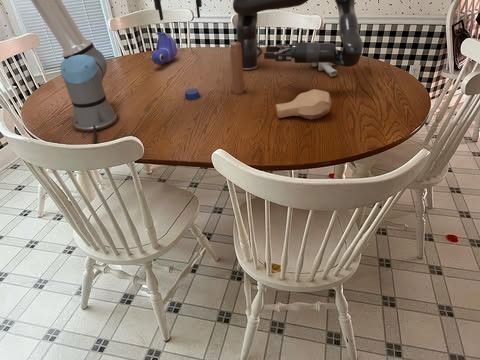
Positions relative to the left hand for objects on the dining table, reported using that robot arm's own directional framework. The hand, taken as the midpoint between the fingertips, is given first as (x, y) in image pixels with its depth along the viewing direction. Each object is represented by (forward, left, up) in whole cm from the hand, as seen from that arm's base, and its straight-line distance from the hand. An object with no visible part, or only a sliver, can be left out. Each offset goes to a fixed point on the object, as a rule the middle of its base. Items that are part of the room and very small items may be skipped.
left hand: (180, 18), depth 130 cm
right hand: (+2, -31, -14) cm, 34 cm away
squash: (-22, -43, -31) cm, 58 cm away
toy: (+45, +20, -31) cm, 58 cm away
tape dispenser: (+26, -59, -31) cm, 72 cm away
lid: (0, 0, -29) cm, 29 cm away
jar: (+4, -19, -31) cm, 36 cm away
